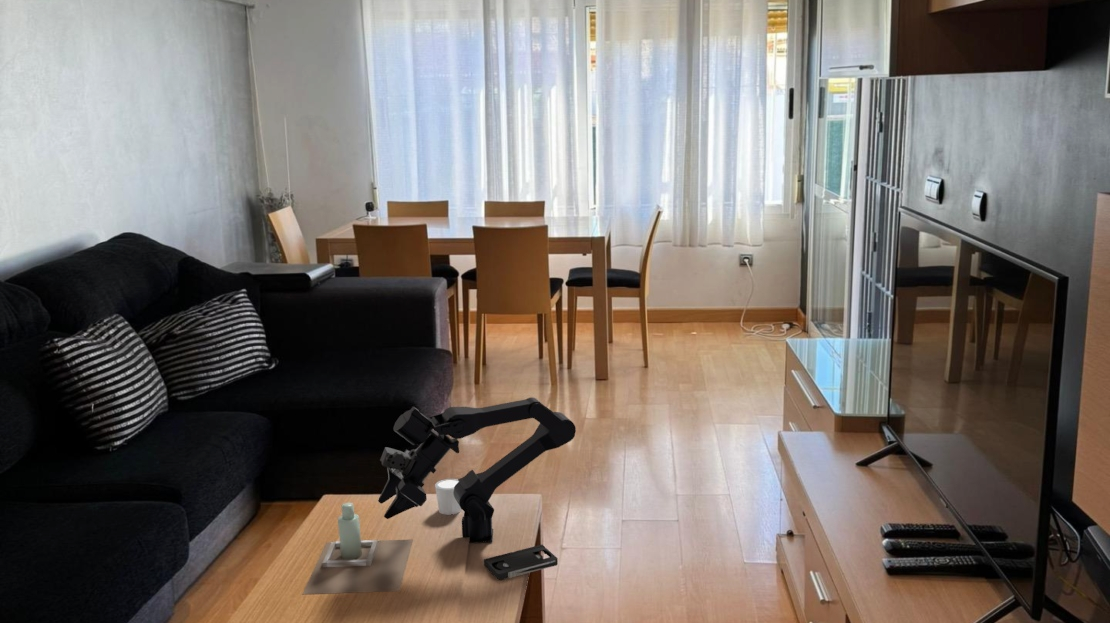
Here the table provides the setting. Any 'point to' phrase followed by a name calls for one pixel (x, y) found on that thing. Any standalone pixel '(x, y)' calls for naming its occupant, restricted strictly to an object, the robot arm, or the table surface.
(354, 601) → the table surface
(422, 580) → the table surface
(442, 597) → the table surface
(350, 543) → the bottle
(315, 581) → the board
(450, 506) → the white cup
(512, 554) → the vhs tape
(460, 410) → the robot arm
